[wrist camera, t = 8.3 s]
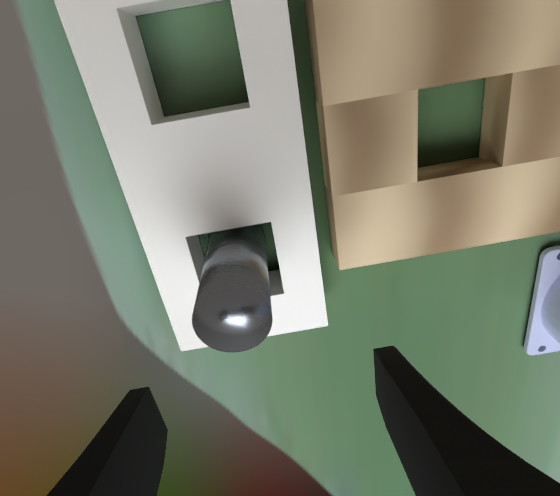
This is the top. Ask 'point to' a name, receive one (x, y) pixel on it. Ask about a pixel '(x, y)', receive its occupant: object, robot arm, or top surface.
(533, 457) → the top surface
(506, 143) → the socket block
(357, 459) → the top surface
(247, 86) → the tool rack
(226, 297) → the steel peg
